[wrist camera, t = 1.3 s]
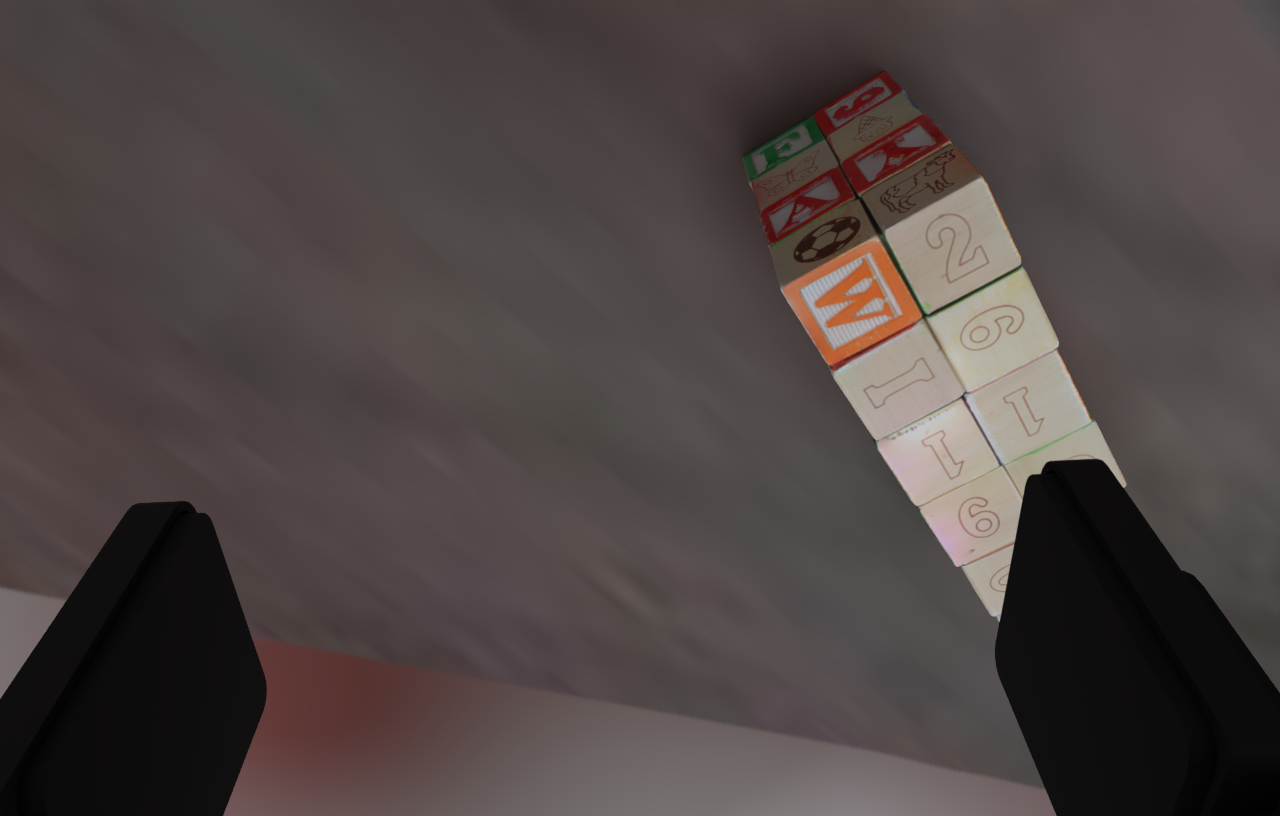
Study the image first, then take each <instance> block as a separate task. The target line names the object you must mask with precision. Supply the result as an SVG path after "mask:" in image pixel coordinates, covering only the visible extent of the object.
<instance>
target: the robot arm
mask: <svg viewBox="0 0 1280 816" xmlns="http://www.w3.org/2000/svg"><path fill="white" fill-rule="evenodd" d="M995 660H996V667H997V671H998V675H999V678H1000V680H1001V683H1002V685H1003V688H1004V690H1005V693H1006V695H1007V697H1008V700H1009V702H1010V705H1011V707H1012V709H1013V712H1014V714H1015V717H1016V719H1017V721H1018V724H1019V726H1020V729H1021V731H1022V733H1023V736H1024V738H1025V741H1026V743H1027V745H1028V748H1029V750H1030V753H1031V755H1032V758H1033V760H1034V762H1035V765H1036V767H1037V770H1038V772H1039V774H1040V777H1041V779H1042V782H1043V784H1044V786H1045V789H1046V791H1047V794H1048V796H1049V798H1050V801H1051V803H1052V806H1053V808H1054V810H1055V813H1056V815H1057V816H1280V693H1279V691H1278V690H1277V688H1276V687H1275V686H1274V684H1273V683H1272V681H1271V680H1270V679H1269V677H1268V676H1267V674H1266V673H1265V672H1264V670H1263V669H1262V667H1261V666H1260V665H1259V663H1258V662H1257V660H1256V659H1255V658H1254V656H1253V655H1252V653H1251V652H1250V651H1249V649H1248V648H1247V646H1246V645H1245V644H1244V642H1243V641H1242V639H1241V638H1240V637H1239V635H1238V634H1237V632H1236V631H1235V630H1234V628H1233V627H1232V625H1231V624H1230V623H1229V621H1228V620H1227V618H1226V617H1225V616H1224V614H1223V613H1222V611H1221V610H1220V609H1219V607H1218V606H1217V604H1216V603H1215V602H1214V600H1213V599H1212V597H1211V596H1210V595H1209V593H1208V592H1207V590H1206V589H1205V588H1204V586H1203V585H1202V584H1201V583H1200V582H1199V581H1198V580H1197V579H1196V578H1195V576H1194V575H1192V574H1190V573H1187V572H1185V571H1181V570H1180V568H1179V567H1178V565H1177V564H1176V562H1175V561H1174V560H1173V558H1172V557H1171V555H1170V554H1169V552H1168V551H1167V550H1166V548H1165V547H1164V545H1163V544H1162V542H1161V541H1160V540H1159V538H1158V537H1157V535H1156V534H1155V532H1154V531H1153V530H1152V528H1151V527H1150V525H1149V524H1148V522H1147V521H1146V520H1145V518H1144V517H1143V515H1142V514H1141V512H1140V511H1139V510H1138V508H1137V507H1136V505H1135V504H1134V502H1133V501H1132V500H1131V498H1130V497H1129V495H1128V494H1127V492H1126V491H1125V490H1124V488H1123V487H1122V485H1121V484H1120V482H1119V481H1118V480H1117V478H1116V477H1115V475H1114V474H1113V472H1112V471H1111V470H1110V468H1109V467H1108V465H1107V464H1106V463H1105V462H1104V461H1103V460H1100V459H1079V460H1057V461H1049V462H1047V463H1046V464H1045V465H1044V467H1043V468H1042V471H1041V474H1032V475H1030V476H1029V477H1028V479H1027V481H1026V485H1025V489H1024V495H1023V500H1022V505H1021V511H1020V516H1019V521H1018V527H1017V532H1016V537H1015V543H1014V548H1013V553H1012V559H1011V564H1010V569H1009V575H1008V580H1007V585H1006V591H1005V596H1004V601H1003V606H1002V612H1001V617H1000V622H999V628H998V633H997V638H996V644H995ZM266 689H267V687H266V679H265V675H264V672H263V669H262V666H261V663H260V660H259V657H258V655H257V652H256V649H255V646H254V643H253V640H252V637H251V634H250V631H249V628H248V625H247V622H246V619H245V616H244V613H243V611H242V608H241V605H240V602H239V599H238V596H237V593H236V590H235V587H234V584H233V581H232V578H231V575H230V572H229V569H228V567H227V564H226V561H225V558H224V555H223V552H222V549H221V546H220V543H219V540H218V537H217V534H216V531H215V528H214V526H213V523H212V521H211V519H210V517H209V516H208V515H207V514H205V513H197V512H196V510H195V508H194V507H193V506H192V505H191V504H190V503H189V502H186V501H177V502H155V503H138V504H135V505H132V506H131V508H130V509H129V510H128V511H127V512H126V514H125V515H124V516H123V518H122V519H121V521H120V522H119V524H118V525H117V527H116V528H115V530H114V531H113V533H112V534H111V536H110V537H109V539H108V540H107V542H106V543H105V545H104V546H103V548H102V549H101V551H100V552H99V554H98V555H97V557H96V558H95V559H94V561H93V562H92V564H91V565H90V567H89V568H88V570H87V571H86V573H85V574H84V576H83V577H82V579H81V580H80V582H79V583H78V585H77V586H76V588H75V589H74V591H73V592H72V594H71V595H70V597H69V598H68V599H67V601H66V602H65V604H64V606H63V607H62V608H61V610H60V611H59V613H58V614H57V616H56V618H55V619H54V620H53V622H52V623H51V625H50V626H49V628H48V629H47V631H46V632H45V634H44V635H43V637H42V638H41V640H40V641H39V643H38V644H37V645H36V647H35V648H34V650H33V651H32V653H31V654H30V656H29V657H28V659H27V660H26V662H25V663H24V665H23V666H22V668H21V669H20V671H19V672H18V674H17V675H16V677H15V678H14V680H13V681H12V682H11V684H10V685H9V687H8V689H7V690H6V691H5V693H4V694H3V696H2V697H1V699H0V816H223V814H224V812H225V809H226V806H227V804H228V801H229V798H230V796H231V794H232V791H233V788H234V786H235V783H236V781H237V778H238V775H239V773H240V770H241V768H242V765H243V762H244V760H245V757H246V754H247V752H248V749H249V747H250V744H251V742H252V739H253V736H254V734H255V731H256V729H257V726H258V723H259V721H260V718H261V715H262V713H263V710H264V706H265V702H266V693H267V690H266Z"/></svg>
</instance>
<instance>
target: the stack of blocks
mask: <svg viewBox="0 0 1280 816" xmlns="http://www.w3.org/2000/svg"><path fill="white" fill-rule="evenodd" d="M743 163H744V167H745V171H746V175H747V179H748V183H749V186H750V188H751V189H752V191H753V193H754V195H755V199H756V203H757V205H758V208H759V211H760V212H761V213H760V214H759V219H760V223H761V226H762V229H763V232H764V236H765V239H766V242H767V245H768V247H769V250H770V252H771V256H772V259H773V264H774V268H775V272H776V276H777V279H778V283H779V287H780V289H781V291H782V293H783V295H784V296H785V298H786V300H787V301H788V303H789V305H790V306H791V308H792V309H793V311H794V312H795V314H796V316H797V317H798V319H799V320H800V322H801V323H802V325H803V327H804V328H805V330H806V331H807V333H808V334H809V336H810V338H811V339H812V341H813V343H814V344H815V346H816V347H817V349H818V351H819V352H820V354H821V355H822V357H823V359H824V360H825V362H826V363H827V364H828V367H829V369H830V372H831V374H832V376H833V378H834V379H835V381H836V382H837V384H838V385H839V387H840V388H841V390H842V391H843V393H844V394H845V396H846V397H847V399H848V400H849V402H850V403H851V405H852V406H853V408H854V409H855V411H856V413H857V414H858V416H859V417H860V419H861V420H862V422H863V423H864V425H865V426H866V428H867V429H868V431H869V432H870V434H871V435H872V438H873V440H874V443H875V445H876V447H877V450H878V451H879V453H880V454H881V456H882V457H883V459H884V461H885V462H886V463H887V465H888V466H889V467H890V469H891V471H892V472H893V474H894V475H895V477H896V479H897V480H898V482H899V483H900V485H901V486H902V488H903V489H904V491H905V492H906V494H907V495H908V497H909V498H910V500H911V501H912V502H913V504H914V505H916V506H917V507H918V509H919V511H920V513H921V515H922V516H923V518H924V519H925V521H926V522H927V524H928V525H929V527H930V528H931V530H932V531H933V533H934V534H935V536H936V537H937V539H938V541H939V542H940V544H941V545H942V547H943V548H944V550H945V551H946V553H947V554H948V556H949V557H950V559H951V560H952V562H953V564H954V565H955V566H956V567H959V566H961V568H962V569H963V571H964V573H965V575H966V576H967V578H968V580H969V581H970V583H971V585H972V586H973V588H974V590H975V591H976V593H977V595H978V596H979V598H980V599H981V601H982V602H983V604H984V606H985V607H986V609H987V610H988V612H989V614H990V615H991V616H995V617H996V619H997V620H998V622H1000V617H1001V612H1002V606H1003V601H1004V596H1005V591H1006V585H1007V580H1008V575H1009V569H1010V564H1011V559H1012V553H1013V548H1014V543H1015V537H1016V532H1017V527H1018V521H1019V516H1020V511H1021V505H1022V500H1023V495H1024V489H1025V485H1026V481H1027V479H1028V477H1029V476H1030V475H1032V474H1041V471H1042V468H1043V467H1044V465H1045V464H1046V463H1047V462H1049V461H1057V460H1079V459H1100V460H1103V461H1104V462H1105V463H1106V464H1107V465H1108V467H1109V468H1110V470H1111V471H1112V472H1113V474H1114V475H1115V477H1116V478H1117V480H1118V481H1119V482H1120V484H1121V485H1122V487H1123V488H1125V487H1126V485H1127V484H1126V481H1125V479H1124V477H1123V475H1122V473H1121V471H1120V469H1119V467H1118V465H1117V463H1116V461H1115V459H1114V457H1113V455H1112V453H1111V451H1110V449H1109V447H1108V445H1107V443H1106V441H1105V439H1104V437H1103V435H1102V433H1101V431H1100V429H1099V427H1098V425H1097V423H1096V421H1095V420H1094V418H1093V417H1092V416H1091V414H1090V413H1089V412H1088V411H1087V409H1086V406H1085V404H1084V402H1083V400H1082V398H1081V396H1080V394H1079V392H1078V390H1077V388H1076V386H1075V384H1074V382H1073V380H1072V378H1071V376H1070V373H1069V371H1068V369H1067V367H1066V365H1065V363H1064V361H1063V359H1062V357H1061V355H1060V354H1059V352H1058V346H1059V341H1058V338H1057V336H1056V334H1055V332H1054V330H1053V328H1052V325H1051V323H1050V321H1049V319H1048V317H1047V315H1046V313H1045V311H1044V309H1043V307H1042V305H1041V303H1040V301H1039V298H1038V296H1037V294H1036V292H1035V290H1034V288H1033V285H1032V283H1031V281H1030V279H1029V277H1028V274H1027V272H1026V271H1025V269H1024V268H1023V267H1022V265H1021V256H1020V254H1019V252H1018V250H1017V248H1016V245H1015V243H1014V241H1013V239H1012V237H1011V234H1010V232H1009V230H1008V228H1007V225H1006V223H1005V221H1004V219H1003V217H1002V214H1001V212H1000V210H999V208H998V206H997V203H996V201H995V199H994V197H993V195H992V193H991V190H990V188H989V186H988V184H987V182H986V181H985V179H984V177H983V176H982V174H981V173H980V172H979V171H978V170H977V169H976V168H975V167H974V166H973V165H972V164H971V163H970V162H969V161H968V159H967V158H966V157H965V156H964V155H963V154H962V153H961V152H960V151H959V150H958V149H957V148H955V147H954V146H953V144H952V142H951V140H950V139H949V138H948V137H947V136H946V135H945V133H944V132H943V131H942V130H941V129H940V128H939V127H938V126H937V125H936V124H935V123H934V122H933V121H932V120H931V119H930V118H929V117H928V115H926V114H924V113H923V112H922V111H921V110H920V109H919V108H918V107H917V106H915V105H914V103H913V102H912V101H911V100H910V99H909V97H908V95H907V93H906V92H905V91H904V90H903V88H902V87H901V86H900V85H898V84H897V83H896V82H895V81H894V79H893V78H892V77H891V76H890V75H889V73H888V72H886V71H884V72H882V73H880V74H878V75H877V76H875V77H873V78H872V79H870V80H868V81H867V82H865V83H863V84H862V85H860V86H858V87H857V88H855V89H853V90H852V91H850V92H848V93H847V94H845V95H843V96H842V97H840V98H839V99H837V100H835V101H834V102H832V103H830V104H829V105H827V106H826V107H824V108H822V109H820V110H819V111H817V112H815V113H814V114H813V115H812V116H811V117H810V118H808V119H806V120H805V121H803V122H801V123H800V124H798V125H796V126H795V127H793V128H791V129H789V130H788V131H786V132H784V133H783V134H781V135H779V136H778V137H776V138H774V139H773V140H771V141H769V142H768V143H766V144H764V145H762V146H761V147H759V148H758V149H756V150H754V151H752V152H751V153H749V154H747V155H745V156H744V157H743Z"/></svg>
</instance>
